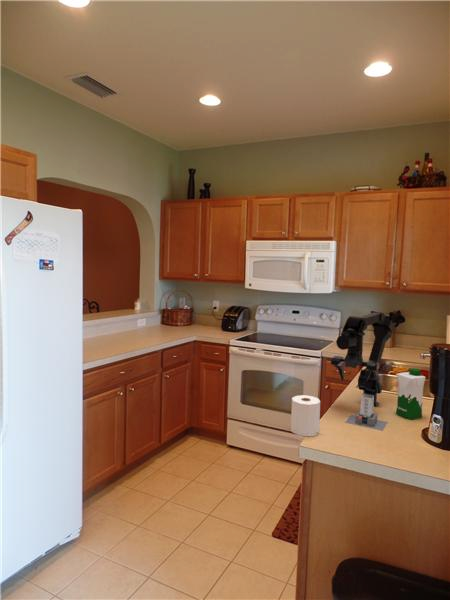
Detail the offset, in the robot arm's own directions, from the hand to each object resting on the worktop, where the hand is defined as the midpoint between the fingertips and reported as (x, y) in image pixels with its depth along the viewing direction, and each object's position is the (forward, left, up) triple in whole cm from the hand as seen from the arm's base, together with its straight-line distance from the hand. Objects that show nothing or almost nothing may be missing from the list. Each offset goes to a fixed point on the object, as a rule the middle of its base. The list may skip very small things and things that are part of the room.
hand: (353, 383), depth 168 cm
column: (+11, +8, -9) cm, 16 cm away
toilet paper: (+30, -10, -13) cm, 34 cm away
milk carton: (-6, +21, -13) cm, 25 cm away
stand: (+11, +8, -12) cm, 18 cm away
